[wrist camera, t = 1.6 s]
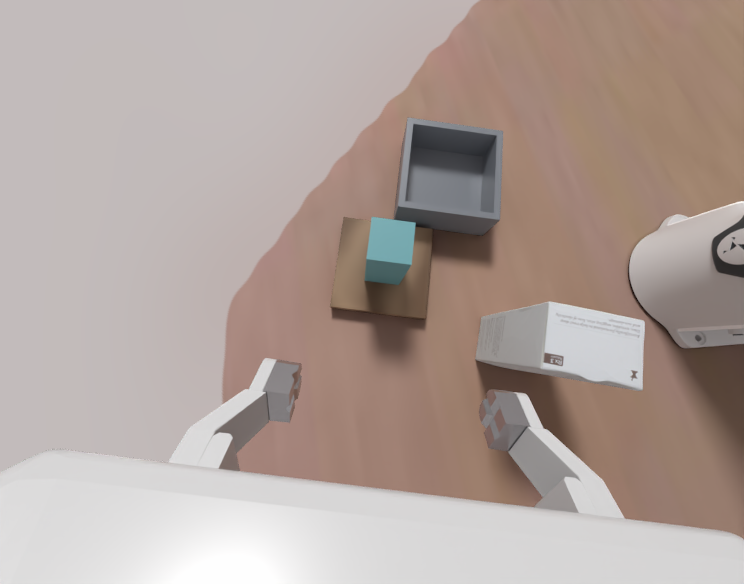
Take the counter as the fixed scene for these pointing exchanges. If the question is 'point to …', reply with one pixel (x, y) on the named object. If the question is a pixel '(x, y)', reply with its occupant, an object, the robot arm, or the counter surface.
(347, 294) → the brown wooden lid
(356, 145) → the counter surface
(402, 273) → the strut
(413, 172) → the bin
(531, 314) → the skincare box
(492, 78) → the counter surface
